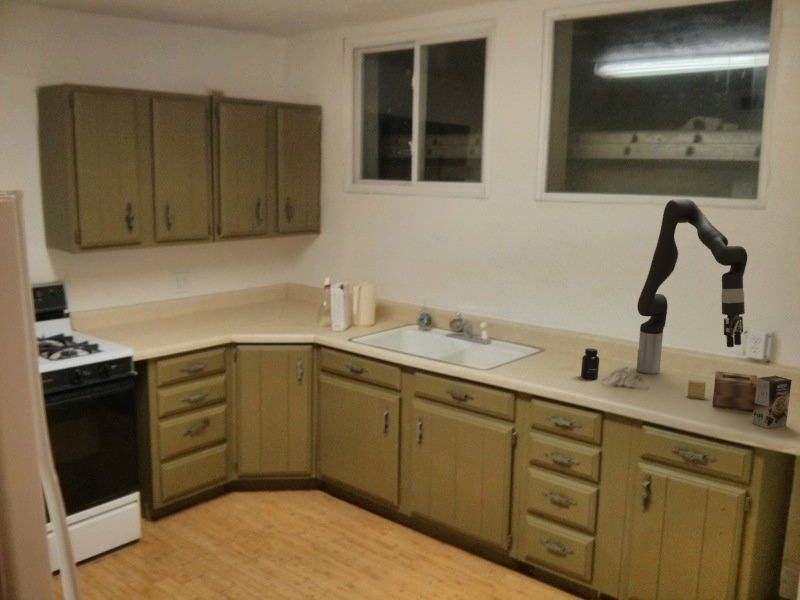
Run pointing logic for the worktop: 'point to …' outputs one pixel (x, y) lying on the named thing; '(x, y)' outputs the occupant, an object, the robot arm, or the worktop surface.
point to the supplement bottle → (590, 364)
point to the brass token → (696, 389)
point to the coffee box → (772, 401)
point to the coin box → (735, 391)
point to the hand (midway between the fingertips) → (734, 346)
